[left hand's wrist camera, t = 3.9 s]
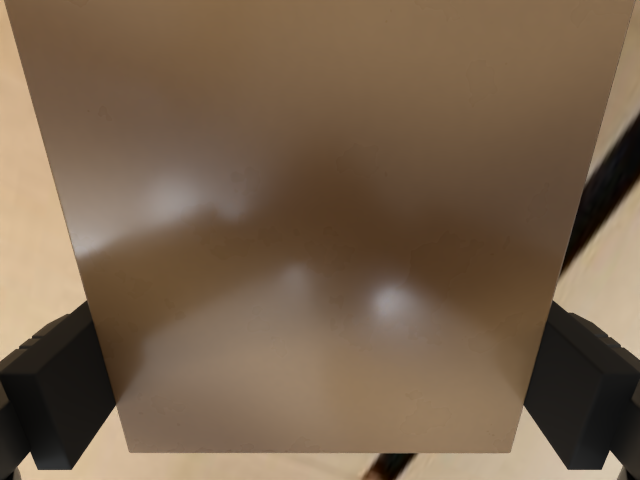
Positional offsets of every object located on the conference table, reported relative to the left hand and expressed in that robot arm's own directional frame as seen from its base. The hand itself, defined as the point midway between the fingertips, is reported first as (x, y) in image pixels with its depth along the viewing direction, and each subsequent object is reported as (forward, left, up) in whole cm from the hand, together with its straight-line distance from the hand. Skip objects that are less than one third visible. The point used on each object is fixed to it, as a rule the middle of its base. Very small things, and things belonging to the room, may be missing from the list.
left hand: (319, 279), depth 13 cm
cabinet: (+5, -3, -6) cm, 8 cm away
